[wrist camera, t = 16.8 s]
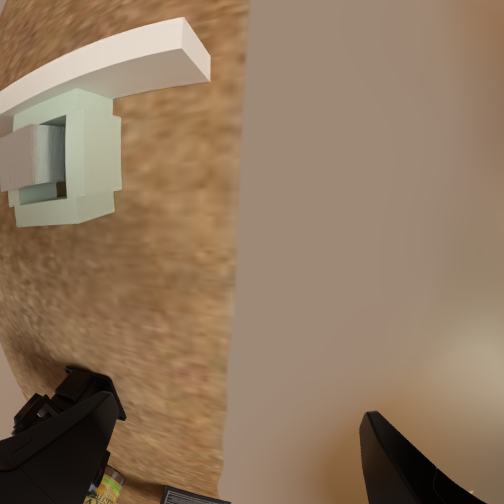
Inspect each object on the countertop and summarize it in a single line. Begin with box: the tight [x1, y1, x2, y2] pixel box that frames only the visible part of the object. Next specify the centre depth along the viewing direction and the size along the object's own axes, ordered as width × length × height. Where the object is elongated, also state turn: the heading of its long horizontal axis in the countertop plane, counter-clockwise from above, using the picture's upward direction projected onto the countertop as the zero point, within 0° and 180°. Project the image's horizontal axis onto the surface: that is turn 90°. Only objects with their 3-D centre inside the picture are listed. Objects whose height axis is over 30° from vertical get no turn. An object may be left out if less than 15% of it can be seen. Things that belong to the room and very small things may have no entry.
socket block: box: [8, 88, 122, 227], centre depth 16 cm, size 9×9×4 cm
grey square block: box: [0, 124, 66, 192], centre depth 15 cm, size 4×4×7 cm
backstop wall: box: [0, 17, 210, 138], centre depth 14 cm, size 2×22×6 cm, turn 91°
